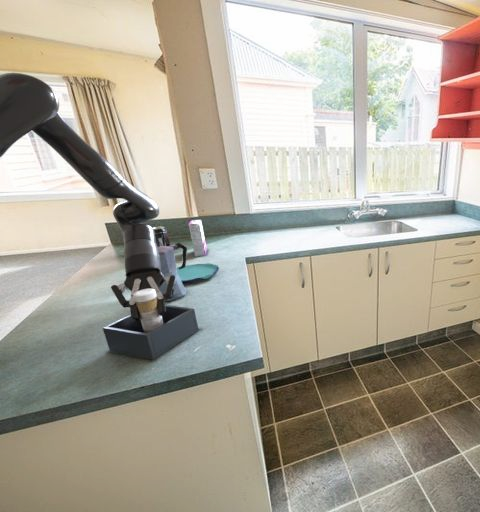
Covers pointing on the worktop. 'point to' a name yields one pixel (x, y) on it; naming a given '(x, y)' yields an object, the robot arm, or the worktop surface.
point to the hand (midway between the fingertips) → (149, 316)
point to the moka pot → (171, 268)
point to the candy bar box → (197, 237)
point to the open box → (151, 333)
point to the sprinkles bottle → (148, 309)
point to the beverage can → (161, 236)
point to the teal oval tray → (197, 272)
